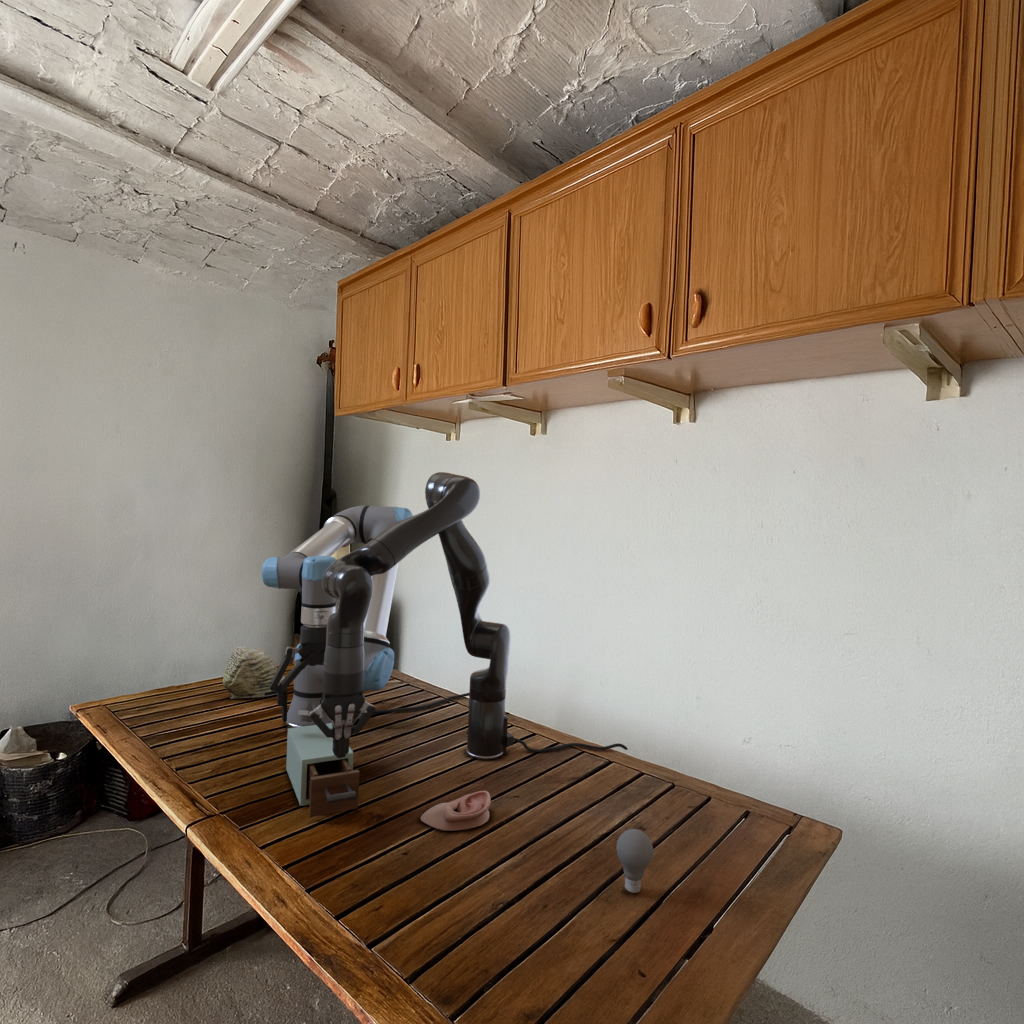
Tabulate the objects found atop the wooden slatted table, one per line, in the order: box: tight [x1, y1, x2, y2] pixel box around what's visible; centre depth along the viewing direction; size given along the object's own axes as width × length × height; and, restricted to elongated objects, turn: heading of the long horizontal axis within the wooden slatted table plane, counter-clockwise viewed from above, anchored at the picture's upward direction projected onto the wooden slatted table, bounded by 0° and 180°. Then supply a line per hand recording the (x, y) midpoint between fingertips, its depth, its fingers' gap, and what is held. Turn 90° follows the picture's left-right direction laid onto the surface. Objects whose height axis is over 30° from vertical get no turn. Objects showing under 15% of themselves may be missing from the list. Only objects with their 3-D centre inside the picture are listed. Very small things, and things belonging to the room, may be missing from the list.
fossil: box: [222, 646, 286, 699], centre depth 198 cm, size 9×18×15 cm, turn 132°
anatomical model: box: [419, 790, 492, 832], centre depth 127 cm, size 13×4×12 cm
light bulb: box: [615, 828, 654, 894], centre depth 106 cm, size 6×6×10 cm
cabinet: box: [285, 723, 354, 807], centre depth 140 cm, size 19×10×10 cm, turn 28°
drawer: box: [306, 759, 360, 818], centre depth 131 cm, size 23×9×8 cm, turn 28°
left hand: (315, 716), depth 145 cm, fingers open, 13 cm apart
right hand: (340, 756), depth 122 cm, fingers closed
